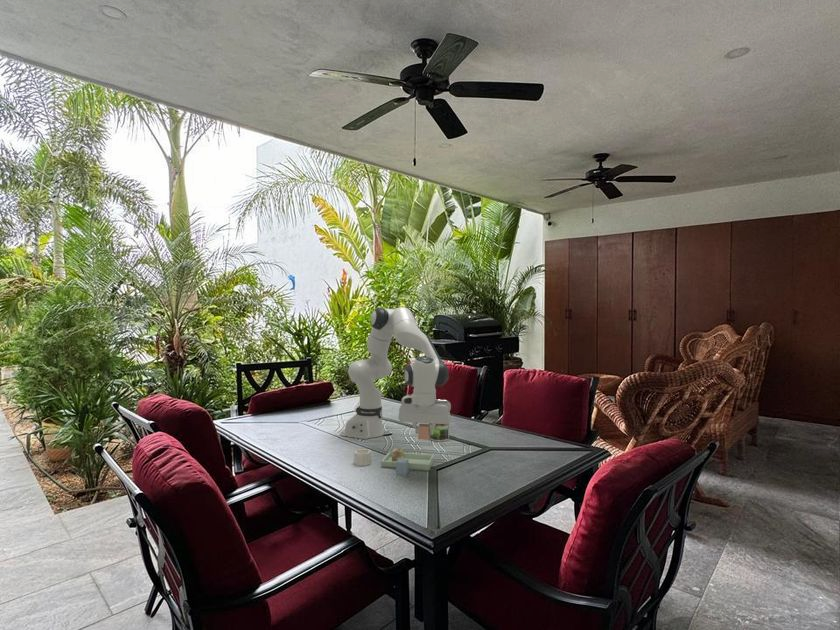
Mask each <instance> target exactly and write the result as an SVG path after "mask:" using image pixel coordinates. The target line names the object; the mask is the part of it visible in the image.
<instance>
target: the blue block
mask: <svg viewBox="0 0 840 630" xmlns="http://www.w3.org/2000/svg"><path fill="white" fill-rule="evenodd" d="M395 471H396V473H395V475H396V476H407V475H408V473H409V470H408V459H398V461H397V462H396V470H395Z"/></svg>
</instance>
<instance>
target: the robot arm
mask: <svg viewBox="0 0 840 630" xmlns="http://www.w3.org/2000/svg"><path fill="white" fill-rule="evenodd" d="M370 325H371V331H370V334H369V336H368V340H367V343H366V349H367V351H368V352H369V353H370V357H369V358H366V359H359V360H357V361H353V362H351V363H350V364H349V366H348V370H347V371H348V376H349V379H350V380H351V381H353V382H354V383H355V384H356V387H357V389H358V392H359V405H358V406H357V408H355V414H354V415H353V416H352V417H350V418H349V419H348V420H347V421H346V423H345V426H344V429H342V430H341V431H340V434H341V435H340V436H341V437H346V436H347V438H353V437H354V439H361V440H362V439H363V440H369V439H372V438H373V439H374V438H379V437H381V436H384V435H385V430H384V427H383V406H382V392H381V390H380V389H379V388H378V387H376V385H375V383H374V381H375V380H379V379H383V378H386V377H389V376H390V375H391V374H392V370H393V366H392V363H391V360H389V358H388V352H389V348H390V345H391V342H392V339H393V336H394V338H395V341H396V342H397V343H398V344H399V345H401V346H403V347H404V348H409V349H412V350H413V349H414V350H417V351H419V352H422V353H423V354H424V355H425V356H423V355H422V356H417V357H416V358H415V359H414V362H412V363H408V364H407V365H406V366H405V367H404V368H403V369H404V370H403V380H404V382H405V384H406V385H407V386H409V387H413V390H412V391H413V392H412V393H410V394H409V393H408V394H406V395H405V396H403V397H402V398H401V403H402V404H400V406H399V410H398V420H399V422H403V423H412V427H413V428H414V429H415V431H414V434H417V435H418V425H417V424H429V423H432V426H433V428H432V429H429V434H430V435H433V429H434V428H435V426H436V424H448V423H449V424H450V422H451V412H450V411H451V409H452V404H451V402H450V401H449V400H447V399H438V398H437V389H436V387H442V386H444V385H445V384H446V383H447V381H448V380H449V377H450V373H449V369H448V366H447V365H446V364H445V362H444V361H443V360H442V358H441V357H440V355H439V353H438V351H437V349H436V348H435V344H434V343H433V342H432V340H431V339H430V336H428V335H427V334H425V333H424V332H423V331H422V330H420V328H419V327H418V325H417V321H416V317H415V315H414V314H413V313H412V312H411V310H410V309H409V308H408V307H404V306H400V307H397V308H384V307H376V308H375V309H373V310H372V312H371V315H370Z"/></svg>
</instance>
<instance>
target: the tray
mask: <svg viewBox="0 0 840 630" xmlns="http://www.w3.org/2000/svg"><path fill="white" fill-rule="evenodd" d="M404 459H408V471H421V472H430V470H431V468H432V466H433V464H434V462H435V454H427V453H425V454H424V453H413V452H404ZM380 468H385V469H396V462H395V461H392V451H388V452H387V454H385V456H384V457H383V458H382V459H381V461H380Z"/></svg>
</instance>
